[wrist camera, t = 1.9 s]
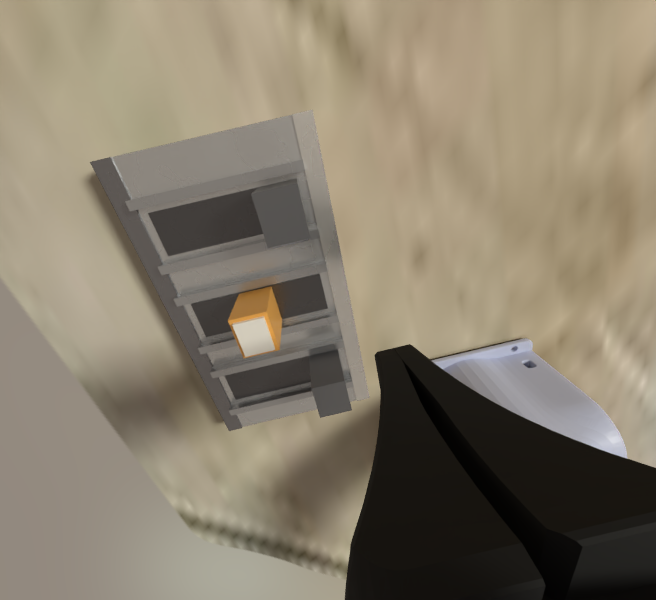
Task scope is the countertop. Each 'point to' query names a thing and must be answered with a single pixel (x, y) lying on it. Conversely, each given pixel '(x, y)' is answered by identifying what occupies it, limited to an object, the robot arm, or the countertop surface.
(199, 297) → the panel
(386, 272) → the countertop surface
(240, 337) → the block
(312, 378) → the block
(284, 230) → the breaker
